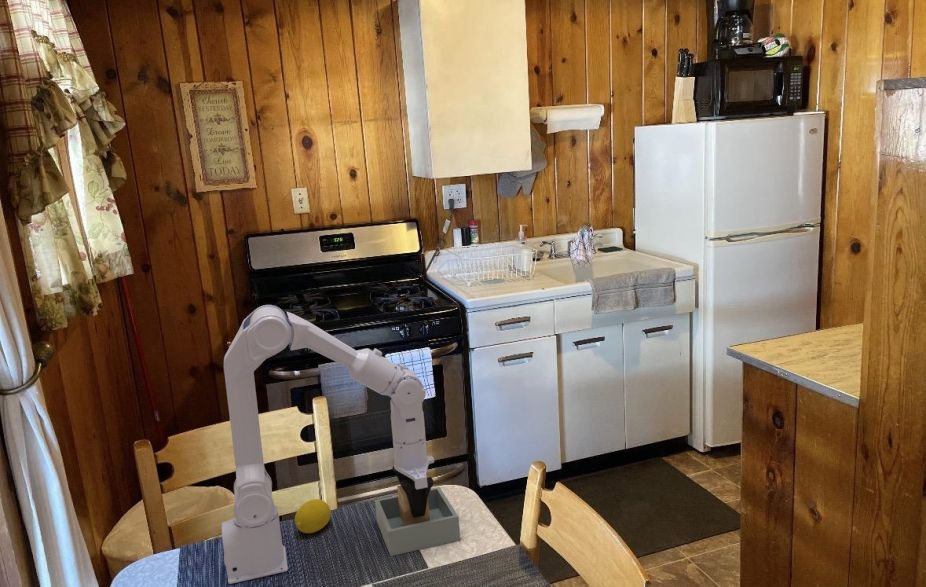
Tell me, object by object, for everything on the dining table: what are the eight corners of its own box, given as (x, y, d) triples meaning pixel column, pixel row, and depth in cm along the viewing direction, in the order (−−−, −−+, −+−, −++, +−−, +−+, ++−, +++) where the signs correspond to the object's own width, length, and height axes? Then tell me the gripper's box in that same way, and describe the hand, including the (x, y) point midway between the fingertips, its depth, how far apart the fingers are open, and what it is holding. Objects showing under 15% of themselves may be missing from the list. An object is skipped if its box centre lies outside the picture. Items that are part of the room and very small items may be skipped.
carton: (405, 528, 124) (402, 496, 123) (400, 516, 128) (397, 486, 127) (430, 523, 125) (427, 491, 124) (424, 511, 130) (421, 481, 128)
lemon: (331, 489, 132) (300, 508, 125) (343, 516, 132) (313, 537, 125) (312, 495, 135) (282, 514, 128) (324, 522, 135) (294, 543, 128)
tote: (390, 556, 120) (388, 531, 119) (377, 522, 131) (374, 499, 131) (460, 540, 123) (458, 516, 122) (441, 508, 135) (439, 486, 134)
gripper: (442, 448, 118) (448, 523, 121) (421, 420, 132) (426, 488, 134) (401, 456, 116) (407, 532, 119) (384, 427, 130) (390, 495, 133)
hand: (415, 509), depth 127 cm, fingers closed on carton, 4 cm apart
